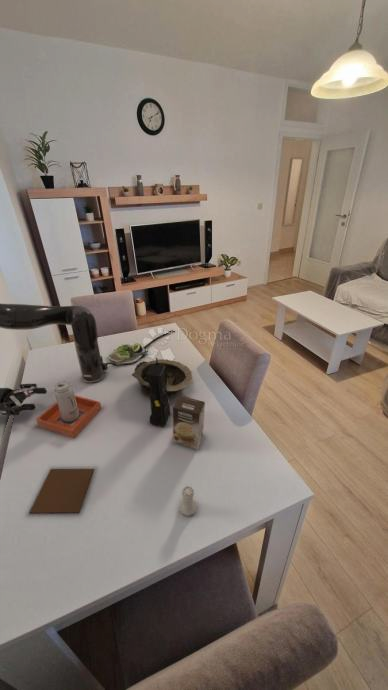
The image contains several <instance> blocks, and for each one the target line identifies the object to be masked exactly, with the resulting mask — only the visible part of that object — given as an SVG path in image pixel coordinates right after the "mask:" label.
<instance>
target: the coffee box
mask: <svg viewBox="0 0 388 690" xmlns="http://www.w3.org/2000/svg"><path fill="white" fill-rule="evenodd" d="M205 403H206V402H205V401H203V400H199V399H195V398H191V397H189V396H185V395H181V394H179V395H178V397H177V398H176V400H175V402H174V405H173V406H172V438H173V439H172V442H173V443H174V444H177V445H180V446H184V447H187V448H190V449H193V450H197V451H198V449H199V447H200V445H201V442H202V439H203V436H204V423H205V419H204V418H205V406H206V405H205Z"/></svg>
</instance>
